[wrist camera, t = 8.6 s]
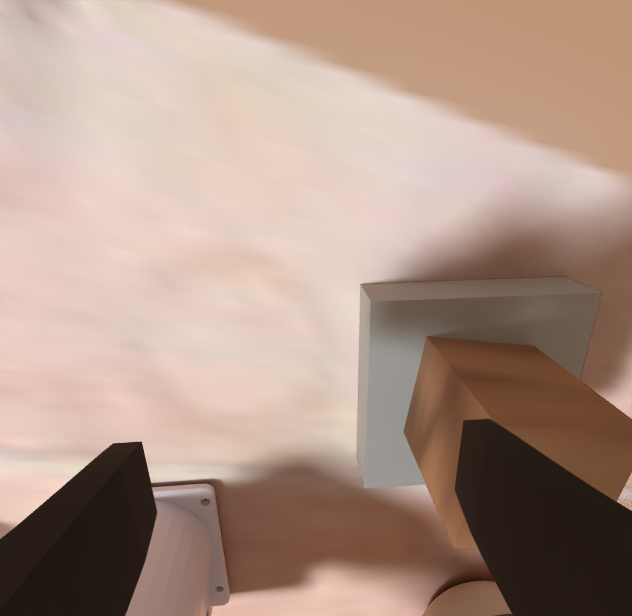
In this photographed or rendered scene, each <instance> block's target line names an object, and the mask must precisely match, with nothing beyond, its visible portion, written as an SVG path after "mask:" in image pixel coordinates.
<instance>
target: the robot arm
mask: <svg viewBox="0 0 632 616" xmlns="http://www.w3.org/2000/svg"><path fill="white" fill-rule="evenodd" d="M455 492H456V495H457V498H458V501H459V504H460V506H461V509H462V512H463V515H464V517H465V520H466V522H467V525H468V527H469V530H470V532H471V535H472V537H473V539H474V541H475V543H476V545H477V547H478V549H479V551H480V553H481V555H482V557H483V559H484V561H485V563H486V565H487V567H488V569H489V571H490V573H491V575H492V576H493V578H494V580H495V582H496V584H497V586H498V588H499V590H500V592H501V594H502V596H503V598H504V600H505V602H506V604H507V605H508V607H509V609H510V611H511V613H512V615H513V616H632V511H631V510H629V509H627V508H626V507H624V506H623V505H621V504H619V503H618V502H616V501H614V500H613V499H611V498H609V497H608V496H606V495H605V494H603V493H602V492H600V491H598V490H597V489H595V488H594V487H592V486H591V485H589V484H587V483H586V482H584V481H583V480H581V479H580V478H578V477H577V476H575V475H574V474H572V473H571V472H569V471H568V470H566V469H565V468H563V467H562V466H560V465H559V464H557V463H556V462H554V461H553V460H551V459H550V458H548V457H547V456H545V455H544V454H542V453H541V452H539V451H538V450H536V449H535V448H534V447H532V446H531V445H529V444H528V443H526V442H525V441H523V440H522V439H520V438H519V437H517V436H516V435H514V434H513V433H511V432H510V431H508V430H507V429H505V428H504V427H502V426H501V425H499V424H498V423H496V422H494V421H493V420H491V419H475V420H463V428H462V435H461V443H460V451H459V459H458V466H457V474H456V482H455ZM204 499H208V500H204ZM229 598H230V590H229V584H228V577H227V570H226V564H225V557H224V550H223V544H222V537H221V530H220V524H219V517H218V510H217V504H216V497H215V490H214V488H213V487H212V486H211V485H209V484H191V485H177V486H164V487H152V486H151V481H150V477H149V472H148V468H147V463H146V459H145V454H144V450H143V445H142V442H128V443H113V444H112V445H111V446H110V447H108V448H107V449H106V450H105V451H103V452H102V453H101V454H100V455H99V456H97V457H96V458H95V459H94V460H93V461H92V462H90V463H89V464H88V465H87V466H86V467H85V468H84V469H82V470H81V471H80V472H79V473H78V474H77V475H75V476H74V477H73V478H72V479H71V480H70V481H69V482H67V483H66V484H65V485H64V486H63V487H62V488H61V489H59V490H58V491H57V492H56V493H55V494H54V495H52V496H51V497H50V498H49V499H48V500H47V501H45V502H44V503H43V504H42V505H41V506H40V507H38V508H37V509H36V510H35V511H34V512H33V513H31V514H30V515H29V516H28V517H27V518H26V519H24V520H23V521H22V522H21V523H20V524H18V525H17V526H16V527H15V528H14V529H12V530H11V531H10V532H9V533H7V534H6V535H5V536H4V537H2V538H1V539H0V616H211V613H212V607H213V606H218V605H225V604H226V603H228V602H229Z"/></svg>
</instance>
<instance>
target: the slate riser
mask: <svg viewBox="0 0 632 616" xmlns="http://www.w3.org/2000/svg"><path fill="white" fill-rule="evenodd" d="M601 295H602V292H600V291H598V290H595V289H593V288H591V287H588V286H586V285H583V284H581V283H579V282H576V281H574V280H572V279H569V278H567V277H565V276H558V277H532V278H505V279H479V280H453V281H427V282H400V283H374V284H360V325H359V367H358V410H357V453H356V455H357V459H358V463H359V468H360V472H361V476H362V481H363V485H364V488H379V487H394V486H409V485H423V484H426V483H425V481H424V479H423V476H422V474H421V472H420V469H419V467H418V465H417V462H416V460H415V458H414V455H413V453H412V451H411V448H410V446H409V444H408V442H407V439H406V437H405V435H404V432H403V431H404V427H405V423H406V419H407V415H408V411H409V407H410V403H411V399H412V394H413V390H414V386H415V382H416V378H417V374H418V370H419V366H420V362H421V358H422V353H423V349H424V345H425V341H426V337H437V338H449V339H460V340H472V341H483V342H495V343H507V344H518V345H530V346H535V347H536V348H538V349H539V350H540V351H542V352H543V353H544V354H546V355H547V356H548V357H550V358H551V359H552V360H554V361H555V362H556V363H558V364H559V365H560V366H562V367H563V368H564V369H566V370H567V371H568V372H570V373H571V374H572V375H574V376H575V377H576V378H578V379H579V380H580V378H581V374H582V370H583V366H584V362H585V358H586V354H587V350H588V346H589V342H590V338H591V335H592V331H593V327H594V323H595V319H596V315H597V311H598V307H599V303H600V299H601Z"/></svg>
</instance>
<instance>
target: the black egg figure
mask: <svg viewBox="0 0 632 616" xmlns="http://www.w3.org/2000/svg"><path fill="white" fill-rule="evenodd" d="M423 616H513V615H512V613H511V611H510V609H509V607H508V605H507V604H506V602H505V600H504V598H503V596H502V594H501V592H500V590H499V588H498V586H497V584H496V582H493V581H472V582H467V583H463V584H459V585H457V586H454V587H452V588H450V589H448V590H446V591H445V592H443V593H442V594H440V595H439V596H438V597H437V598H436V599H435V600H434V601H433V602H432V603H431V604H430V605H429V606H428V608H427V609H426V611H425V612H424V614H423Z"/></svg>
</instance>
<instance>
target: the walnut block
mask: <svg viewBox="0 0 632 616" xmlns="http://www.w3.org/2000/svg"><path fill="white" fill-rule="evenodd" d="M475 419H491V420H493V421H494V422H496V423H498V424H499V425H501V426H502V427H504V428H505V429H507V430H508V431H510V432H511V433H513V434H514V435H516V436H517V437H519V438H520V439H522V440H523V441H525V442H526V443H528V444H529V445H531V446H532V447H534V448H535V449H536V450H538V451H539V452H541V453H542V454H544V455H545V456H547V457H548V458H550V459H551V460H553V461H554V462H556V463H557V464H559V465H560V466H562V467H563V468H565V469H566V470H568V471H569V472H571V473H572V474H574V475H575V476H577V477H578V478H580V479H581V480H583V481H584V482H586V483H587V484H589V485H591V486H592V487H594V488H595V489H597V490H598V491H600V492H602V493H603V494H605V495H606V496H608V497H609V498H611V499H613V500H614V501H616V502H617V500H618V498H619V496H620V494H621V492H622V490H623V488H624V486H625V484H626V482H627V480H628V478H629V476H630V474H631V472H632V419H631V418H630V417H628V416H627V415H626V414H624V413H623V412H622V411H620V410H619V409H618V408H616V407H615V406H614V405H612V404H611V403H610V402H608V401H607V400H606V399H604V398H603V397H602V396H600V395H599V394H598V393H596V392H595V391H594V390H592V389H591V388H590V387H588V386H587V385H586V384H584V383H583V382H582V381H580V380H579V379H578V378H576V377H575V376H574V375H572V374H571V373H570V372H568V371H567V370H566V369H564V368H563V367H562V366H560V365H559V364H558V363H556V362H555V361H554V360H552V359H551V358H550V357H548V356H547V355H546V354H544V353H543V352H542V351H540V350H539V349H538V348H536V347H535V346H530V345H518V344H507V343H495V342H483V341H472V340H460V339H449V338H437V337H426V341H425V345H424V349H423V353H422V358H421V362H420V366H419V370H418V374H417V378H416V382H415V386H414V390H413V394H412V399H411V403H410V407H409V411H408V415H407V419H406V423H405V427H404V431H403V432H404V435H405V437H406V439H407V442H408V444H409V446H410V448H411V451H412V453H413V455H414V458H415V460H416V462H417V465H418V467H419V469H420V472H421V474H422V476H423V479H424V481H425V483H426V485H427V488H428V490H429V492H430V495H431V497H432V499H433V502H434V504H435V506H436V509H437V511H438V513H439V516H440V518H441V520H442V523H443V525H444V527H445V529H446V532H447V534H448V536H449V539H450V541H451V543H452V546H453V548H454V549H478V547H477V545H476V543H475V541H474V539H473V537H472V535H471V532H470V530H469V527H468V525H467V522H466V520H465V517H464V515H463V512H462V509H461V506H460V504H459V501H458V498H457V495H456V492H455V482H456V474H457V466H458V459H459V451H460V443H461V435H462V428H463V420H475Z"/></svg>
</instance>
